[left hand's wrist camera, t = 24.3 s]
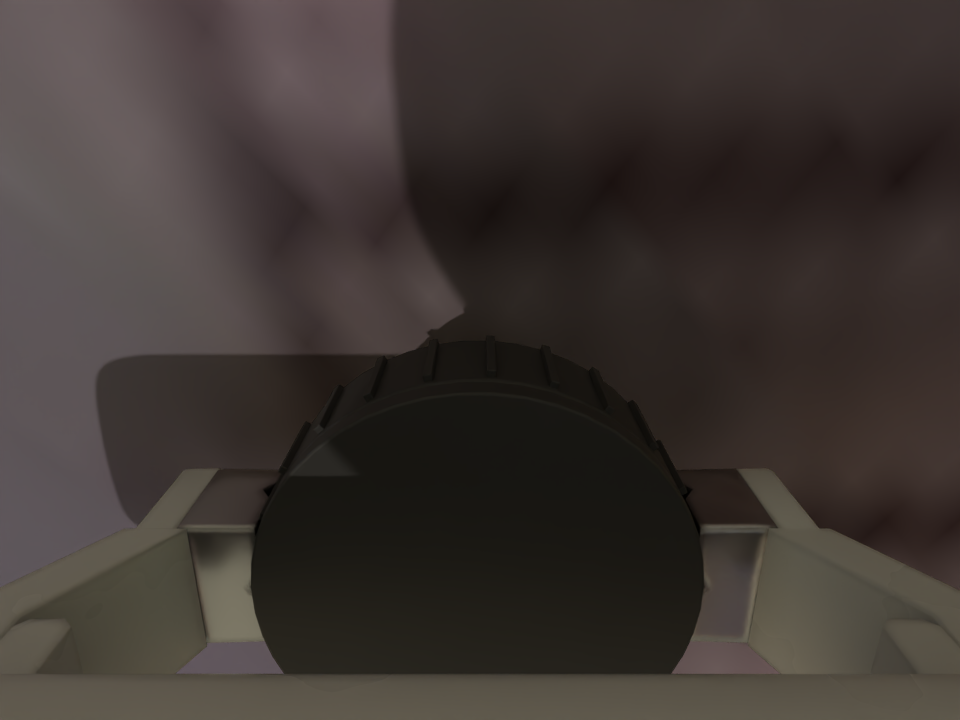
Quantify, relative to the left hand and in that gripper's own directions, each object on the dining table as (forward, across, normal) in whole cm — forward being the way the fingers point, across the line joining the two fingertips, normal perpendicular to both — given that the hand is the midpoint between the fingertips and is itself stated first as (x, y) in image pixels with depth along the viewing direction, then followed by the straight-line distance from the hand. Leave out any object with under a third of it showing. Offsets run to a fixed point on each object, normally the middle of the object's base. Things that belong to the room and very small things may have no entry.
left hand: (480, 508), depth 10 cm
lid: (-2, 0, 0) cm, 2 cm away
